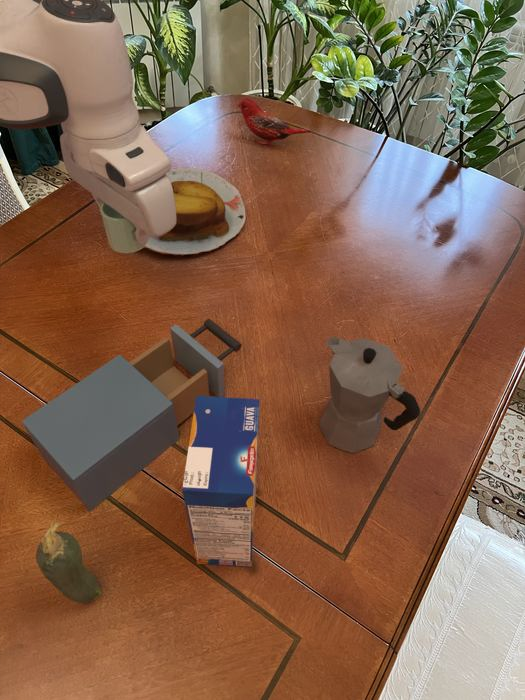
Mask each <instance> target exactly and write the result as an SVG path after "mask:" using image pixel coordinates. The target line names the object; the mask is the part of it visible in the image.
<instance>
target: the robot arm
mask: <svg viewBox="0 0 525 700" xmlns="http://www.w3.org/2000/svg"><path fill="white" fill-rule="evenodd" d="M130 60H131V59H130V56H129V51H128V46H127V44H126V40H125V35H124V33H123V30H122V27H121V24H120V21H119V19H118V17H117V15H116V13H115V11H114V10H113V9H112V8H111V6H109V4H107V3H106V2H104V1H103V0H0V127H3V128H6V129H9V130H10V129H11V130H19V131H20V130H21V131H22V130H34V129H41V128H47V127H53V126H56V125H60V126H61V129H62V134H61V135H60V137H59V142H60V150H61V154H62V159H63V163H64V168H65V170H66V172H67V175H68V176H69V177H70V179H71V180H72V181H74V182H76V183H77V184H78V185H80V186H81V187H82V188H84V189H85V190H86V191H88V192H89V193H91V196H92V198H93V199H94V201H95V203H96V204H97V206H98V207H99V208H100V206H101V204H102V202H104V203H106V204H107V205H108V206H110V207H111V208H113V209H114V210H115V211H117V212H118V213H119V214H121V215H122V216H123V217H125V218H126V219H128V220H129V221H130V222H132V223H133V225H134V226H135V227H136V229H134V230H133V231H131V232H132V236H133V239H134V240H135V241H136V242H137V243H139V244H140V245H142V244H144V243H145V242H147V241H148V240H149V236H151V237H152V238H158V237H160V236H162V235H164V234H166V233H167V232H169V231H170V230H171V229H173V228H174V226H175V225H176V207H175V200H174V193H173V188H172V185H171V182H170V180H169V178H168V177H167V175H166V173H168V172H169V171H170V170H171V169H172V165H171V160H170V158H169V156H168V155H167V154H166V152H165V151H164V150H163V149H162V148H160V146H159V145H158V144H157V143H156V142H155V141H154V139H152V137H151V135H150V134H149V132H148V131H147V129H146V128H145V126H143V125H142V124H141V120H140V114H139V111H138V108H137V105H136V104H135V102H134V98H133V90H134V76H133V72H132V66H131V61H130Z"/></svg>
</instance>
